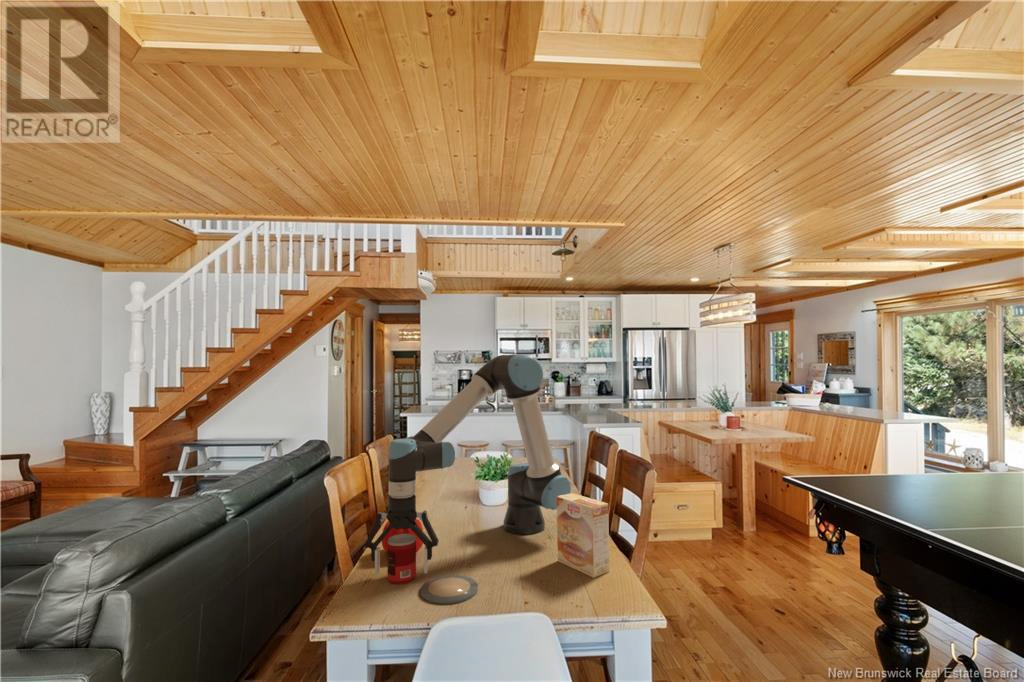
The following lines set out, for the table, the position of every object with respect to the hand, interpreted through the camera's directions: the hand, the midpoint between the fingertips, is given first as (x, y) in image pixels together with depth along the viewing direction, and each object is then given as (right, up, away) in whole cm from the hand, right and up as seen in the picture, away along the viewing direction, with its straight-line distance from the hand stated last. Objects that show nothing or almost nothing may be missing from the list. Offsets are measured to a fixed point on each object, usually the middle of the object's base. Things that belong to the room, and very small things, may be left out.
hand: (401, 571), depth 135 cm
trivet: (+14, -1, -8) cm, 16 cm away
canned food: (0, -2, 0) cm, 2 cm away
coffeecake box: (+52, -2, +7) cm, 52 cm away
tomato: (-4, -3, +18) cm, 18 cm away
